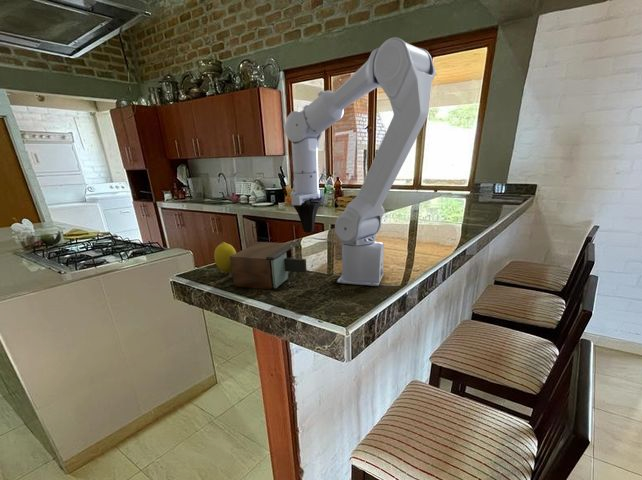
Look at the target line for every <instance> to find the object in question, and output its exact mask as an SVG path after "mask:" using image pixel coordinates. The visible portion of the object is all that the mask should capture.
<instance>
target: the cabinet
mask: <svg viewBox="0 0 642 480" xmlns="http://www.w3.org/2000/svg"><path fill="white" fill-rule="evenodd" d="M299 243H300V242H299V241H290V242H271V241H270V242H269V241H258V242H255V243H254V244H252V245H250V246H248V247H246V248H244V249H241V250H240V251H238V252H236V254H234V255H232V256H230V262H231V268H232V271H231V274H232V281H233V286H234V287H238V288H239V287H241V288H251V289H263V290H271V289H274V287H273V277H272V267H271V260H272V259H276V258H277V257H279V256H280V255H282V254H283V253H285V252H286V256H287V258H293V248H294V247H296V246H297V245H299ZM291 273H292V272H289V271H288V275H290V274H291Z"/></svg>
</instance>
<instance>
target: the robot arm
mask: <svg viewBox="0 0 642 480" xmlns="http://www.w3.org/2000/svg"><path fill="white" fill-rule="evenodd" d="M436 75H437V72H436V69H435V65H434V62H433V58H432V56H431V54H430V52H429V51H428V50H427V49H425V48H422V47H418V46H415V45H413V44H410V43H408V42H406V41H404V40H403V39H402V38H400V37H390V38H388V39H386V40H384V41H383V43H382V44H381V45H380V46H379V47H377V48H375V49H373V50H372V51H371V52H370V55H369V57H368V59H367V60H366V62H365V63H363V64H362V65H361V66H360V67H359V68H358V69H357V70H356V71H355V72H354V73H353V74H352V75H351V76H350V77H348V78H347V80H345V81H344V82H343V83H342V84H341V85H340V86H339V87H337V89H336V90H333V91H332V90H320V91H319V92H318V93H317V96H318V97H317V98H315V99H314V100H313V101H312V102H310V103H309V104H305V105H304V107H303V109H302V110H300V111H296V110H293V111H291V112H290V113H289V114H288V115H287V117H286V118H285V122H284V131H285V135H286V138H287V139H288V140H289V141H290V142H291V155H292V156H291V157H292V175H293V185H294V186H293V189H294V191H293V192H290V193H289V196H290V199H291V206H293V208H294V210H295V211H296V213H297V215H298V218H299V220H300V224H301V227H302V230H303V232H304V233H312V232H314V229H315V224H316V218H317V213H318V211H319V209H320V207H321V200H315V199H320V198H321V190H320V189H319V161H318V150H319V149H320V148H319V145H320V140H321V137H322V134H323V132H325V131H326V130H328V129H329V128H331V127H332V126H333V125H334V124H336V123H337V122H338V121H340V120H341V119H342V118H343V115H344V110H345V109H346V108H347V107H349V106H351V105H352V104H353V103H355V102H356V101H358V100H359V99H362V98H363V97H364V96H366V95H368V94H369V93H371V92H372V91H373V90H375V89H382V90H383V92H384V93H385V95H386V96H387V98H388V100H389V102H390V103H389V104H390V106H391V110H392V113H393V116H392V117H391V118H392V119H391V121H390V123H389V125H388V127H387V130H386V131H385V134H384V136H383V139H382V140H381V143H380V145H379V147H378V148H377V152H376V154H375V156H374V158H373V161H372V163H371V165H370V167H369V169H368V171H367V174H366V176H365V178H364V181H363V182H362V185H361V186H360V189H359V191H358V194H357V195H356V197H354V198H353V199H352V200H351V201H349V203H348V204H346V206H345V209H344V211H343V212H342V213H341V214H339V215H338V216H337V217H336V219H335V222H334V232H335V234H336V237H337V238H338V240H340V244H341V275H340V277H338V279H337V280H336V283H338V284H347V285H360V286H371V287H379V285H380V283H381V281H382V279H383V276H384V260H385V259H384V258H385V244H384V243H383V242H377V241H375V240H376V236H377V234H378V233H379V231H380V230H381V228H382V219H383V216H384V214H385V212H386V211H385V208H384V207H383V204H384V201H385V200H386V198H387V196H388V194H389V192H390V190H391V188H392V187H393V184H394V183H395V180H396V179H397V177H398V174H399V173H400V171H401V169H402V167H403V165H404V163H405V161H406V160H407V158H408V156H409V154H410V151H411V150H412V148H413V146H414V144H415V142H416V140H417V138H418V136H419V134H420V132H421V130H422V128H423V126H424V124H425V123H426V121H427V119H428V115H429V111H430V103H431V92H432V83H433V81H434V80H435V77H436Z"/></svg>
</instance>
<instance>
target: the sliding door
mask: <svg viewBox="0 0 642 480" xmlns="http://www.w3.org/2000/svg"><path fill="white" fill-rule="evenodd" d="M271 267H272V277H273V289H277V288H278V287H279V286H281V285H282V284H284V282H286V281H287V280H289V274H288V271H289V272H291V273H303V274H305V273H307V272H308V271H307V270H308V269H307V259H306V258H297V257H292V258H287V256H286V252H285V253H283V254H282V255H280V256H279V257H277V258H276V259H272V260H271Z"/></svg>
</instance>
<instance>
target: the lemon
mask: <svg viewBox="0 0 642 480" xmlns="http://www.w3.org/2000/svg"><path fill="white" fill-rule="evenodd" d="M236 253H237V251H236V249H235V248H234V247H233V245H232V244H230V243H226V242H225V241H222V242H221V243H219V244H218V245H217V246H216V247H215V249H214V254H213V255H214V263H215V265H216V267H217V268H218V269H219V270H220V271H222V272H225V273H226V274H230V273H232V268H231V262H230V256H232V255H234V254H236Z"/></svg>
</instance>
